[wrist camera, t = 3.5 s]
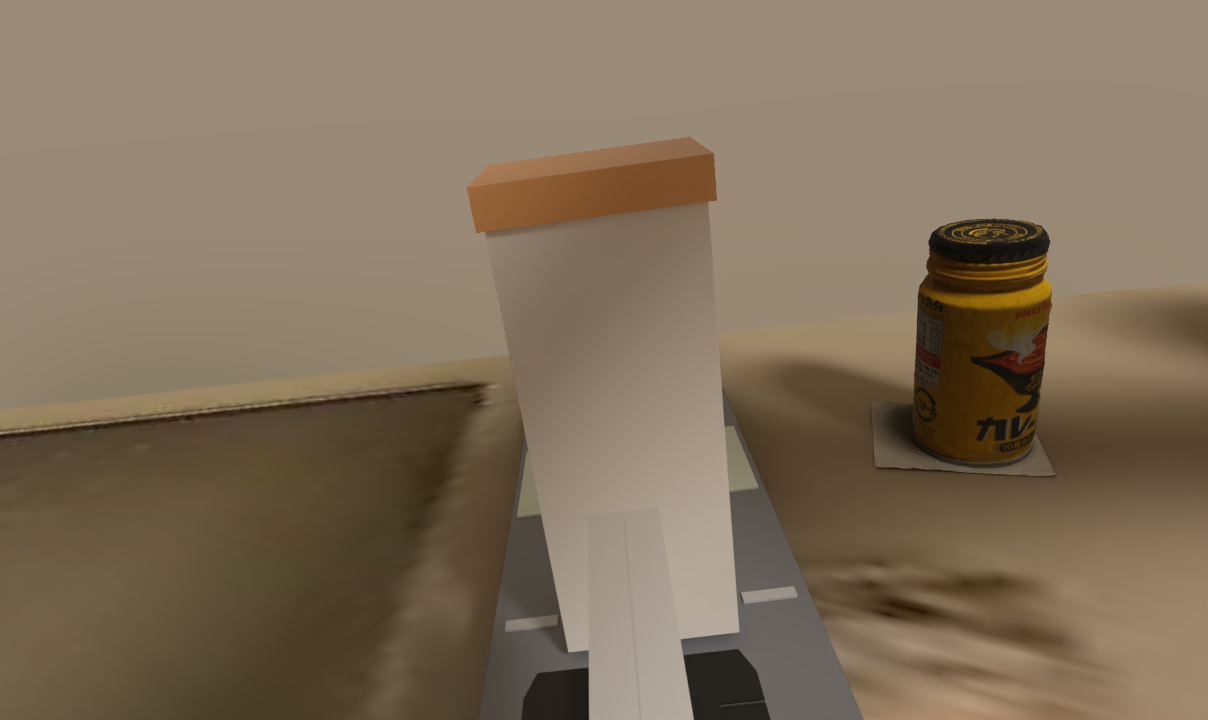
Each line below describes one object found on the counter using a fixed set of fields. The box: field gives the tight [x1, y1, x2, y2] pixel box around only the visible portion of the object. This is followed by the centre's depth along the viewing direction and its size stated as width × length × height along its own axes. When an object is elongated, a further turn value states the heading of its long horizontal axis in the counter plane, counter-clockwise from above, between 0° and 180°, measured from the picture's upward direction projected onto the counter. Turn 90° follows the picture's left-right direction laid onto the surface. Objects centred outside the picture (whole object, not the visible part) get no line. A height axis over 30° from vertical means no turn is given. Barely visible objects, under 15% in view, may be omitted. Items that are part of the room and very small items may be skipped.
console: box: [478, 388, 864, 720], centre depth 35 cm, size 30×12×3 cm, turn 1°
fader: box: [467, 137, 739, 653], centre depth 23 cm, size 4×6×16 cm
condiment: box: [871, 219, 1056, 476], centre depth 37 cm, size 7×8×12 cm
